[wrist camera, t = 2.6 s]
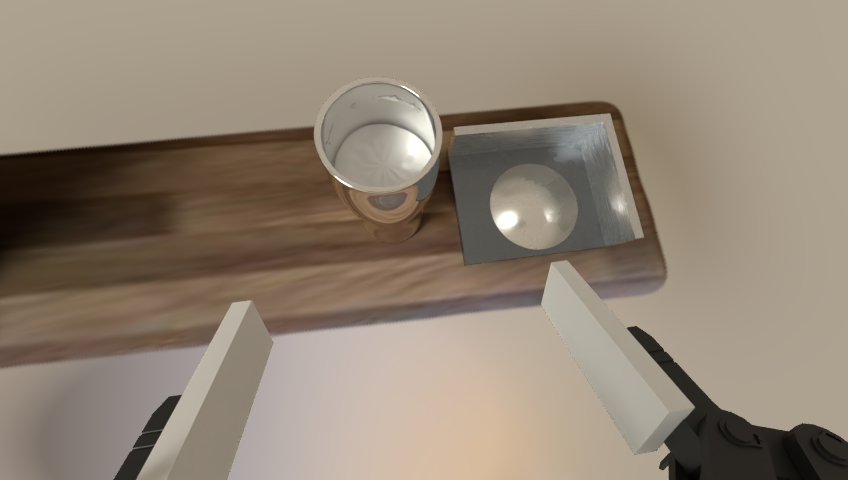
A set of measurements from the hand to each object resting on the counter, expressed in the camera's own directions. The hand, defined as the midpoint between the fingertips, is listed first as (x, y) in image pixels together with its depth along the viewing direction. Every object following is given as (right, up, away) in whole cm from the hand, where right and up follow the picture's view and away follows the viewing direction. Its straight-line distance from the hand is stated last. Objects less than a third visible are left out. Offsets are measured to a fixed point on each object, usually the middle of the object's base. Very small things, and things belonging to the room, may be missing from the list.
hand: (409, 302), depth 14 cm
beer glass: (-3, +5, +17) cm, 18 cm away
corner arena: (+11, +7, +18) cm, 22 cm away
